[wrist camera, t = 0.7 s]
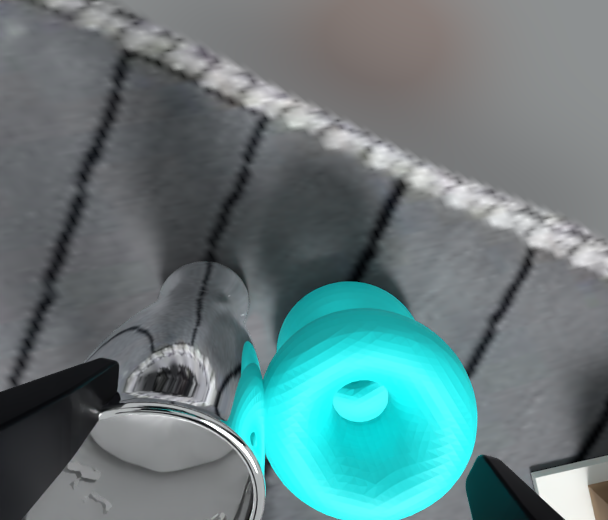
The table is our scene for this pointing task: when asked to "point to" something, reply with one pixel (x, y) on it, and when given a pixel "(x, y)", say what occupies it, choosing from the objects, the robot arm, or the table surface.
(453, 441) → the donuts
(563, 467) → the white mat
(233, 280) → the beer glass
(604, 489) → the walnut block
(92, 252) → the table surface
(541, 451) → the table surface
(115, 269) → the table surface
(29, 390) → the robot arm
